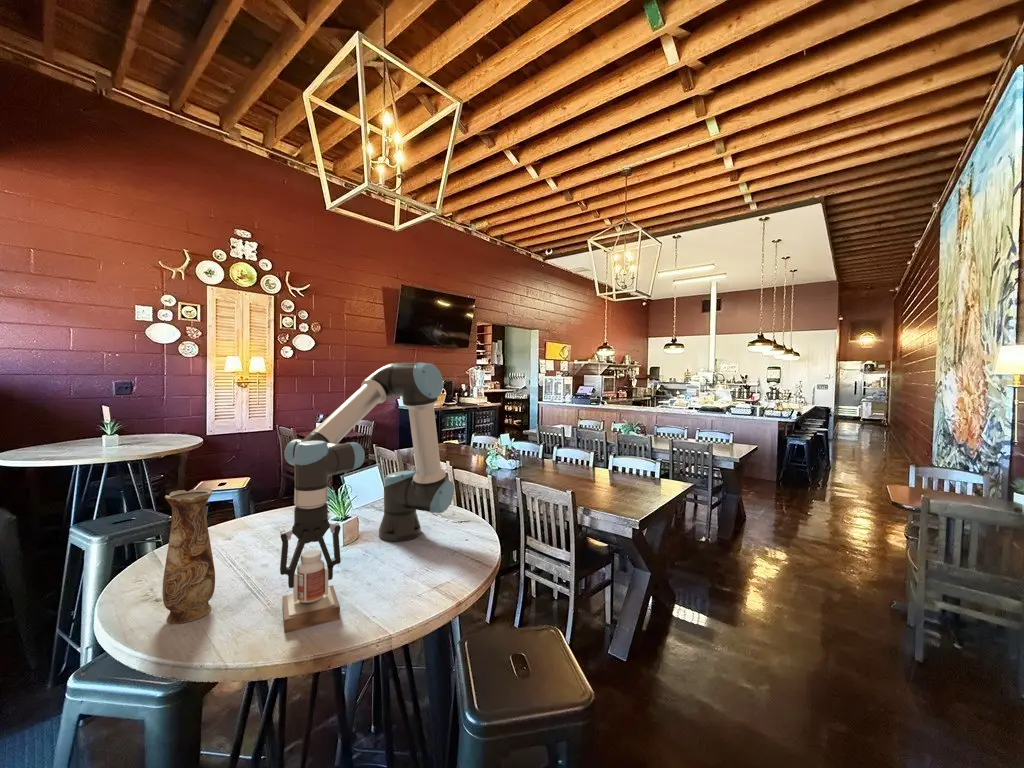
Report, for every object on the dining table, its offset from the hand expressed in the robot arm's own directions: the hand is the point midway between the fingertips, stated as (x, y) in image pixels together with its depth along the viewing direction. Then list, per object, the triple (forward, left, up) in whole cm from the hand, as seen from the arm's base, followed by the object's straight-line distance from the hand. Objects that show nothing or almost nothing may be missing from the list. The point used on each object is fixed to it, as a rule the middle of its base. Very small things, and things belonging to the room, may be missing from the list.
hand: (310, 595), depth 108 cm
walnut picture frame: (0, 0, -4) cm, 4 cm away
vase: (+26, -14, -5) cm, 30 cm away
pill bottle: (0, 0, -1) cm, 1 cm away
